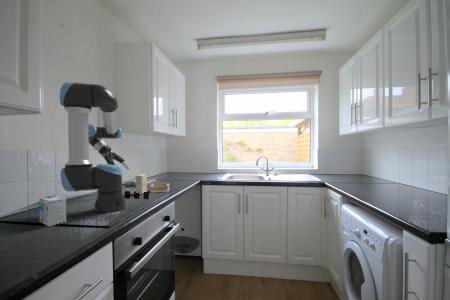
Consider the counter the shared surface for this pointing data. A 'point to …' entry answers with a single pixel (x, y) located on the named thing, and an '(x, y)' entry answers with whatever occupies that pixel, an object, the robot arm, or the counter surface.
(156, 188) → the dock
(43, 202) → the light bulb box
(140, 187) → the supplement box
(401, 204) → the counter surface
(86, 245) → the counter surface
